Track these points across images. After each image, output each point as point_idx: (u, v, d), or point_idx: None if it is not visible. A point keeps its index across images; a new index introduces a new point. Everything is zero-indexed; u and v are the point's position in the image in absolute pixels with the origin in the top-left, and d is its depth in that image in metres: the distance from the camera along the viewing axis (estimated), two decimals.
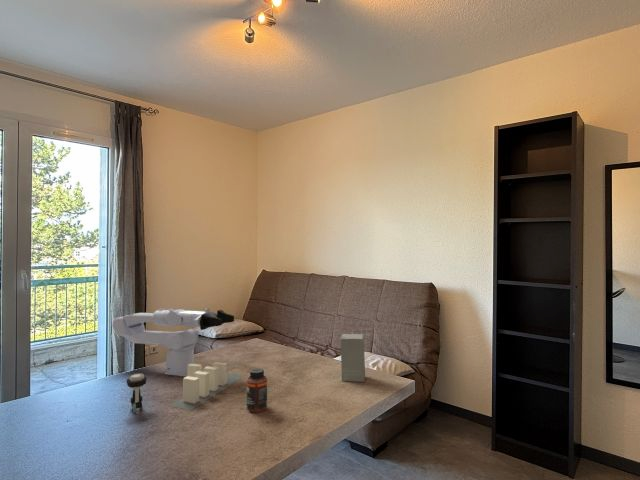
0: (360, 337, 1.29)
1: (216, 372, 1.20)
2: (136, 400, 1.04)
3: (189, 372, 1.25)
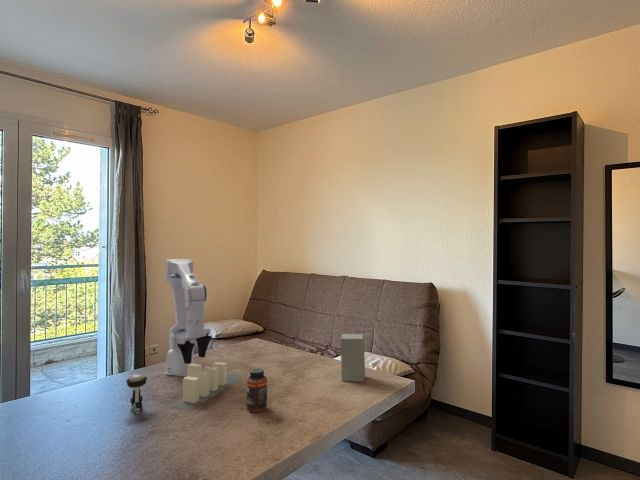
0: (360, 337, 1.29)
1: (216, 372, 1.20)
2: (136, 400, 1.04)
3: (189, 372, 1.25)
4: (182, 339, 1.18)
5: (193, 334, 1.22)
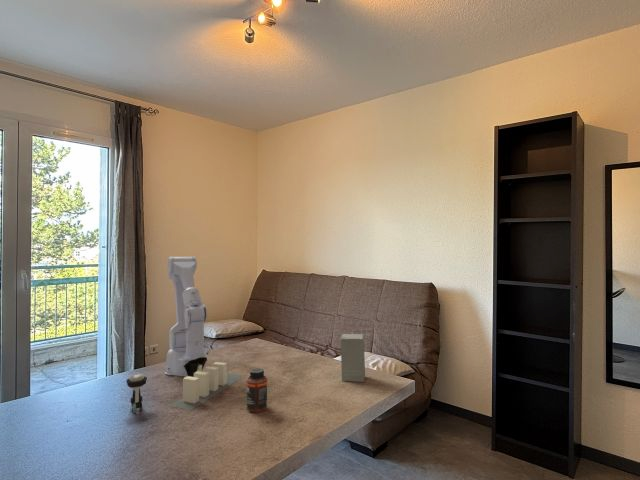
0: (360, 337, 1.29)
1: (216, 372, 1.20)
2: (136, 400, 1.04)
3: None
4: (182, 361, 1.18)
5: (193, 355, 1.22)
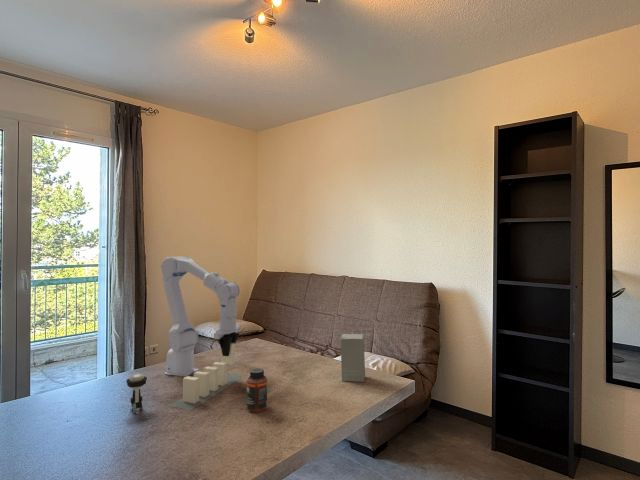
0: (360, 337, 1.29)
1: (216, 372, 1.20)
2: (136, 400, 1.04)
3: None
4: (217, 334, 1.23)
5: (227, 330, 1.28)
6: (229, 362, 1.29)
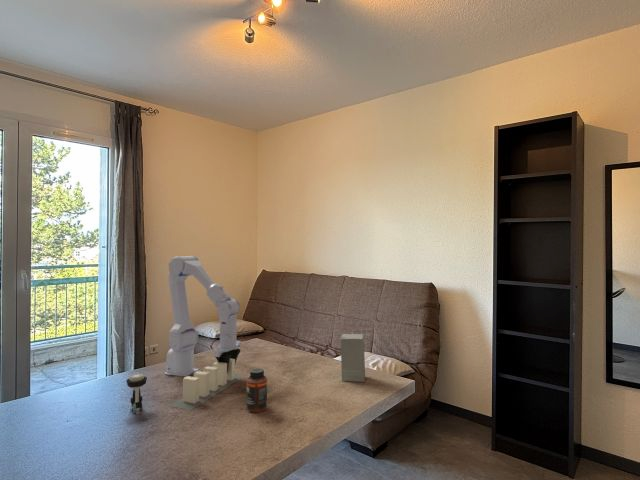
0: (360, 337, 1.29)
1: (216, 372, 1.20)
2: (136, 400, 1.04)
3: None
4: (217, 352, 1.23)
5: (227, 347, 1.27)
6: (229, 378, 1.29)
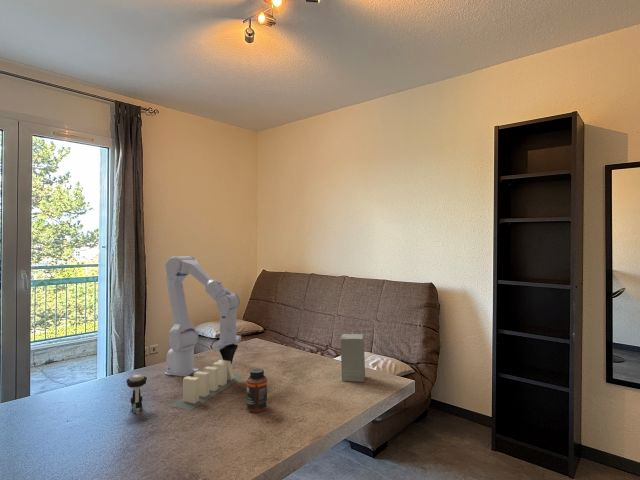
0: (360, 337, 1.29)
1: (216, 372, 1.20)
2: (136, 400, 1.04)
3: None
4: (217, 346, 1.23)
5: (227, 341, 1.27)
6: (228, 378, 1.28)
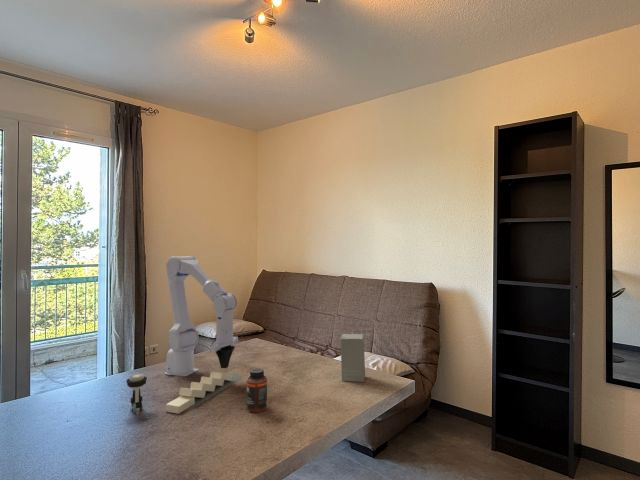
0: (360, 337, 1.29)
1: (204, 387, 1.14)
2: (136, 400, 1.04)
3: None
4: (213, 348, 1.21)
5: (223, 342, 1.25)
6: (228, 380, 1.28)
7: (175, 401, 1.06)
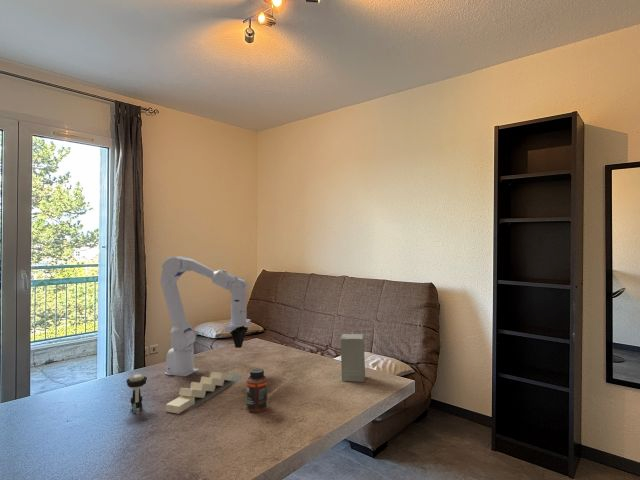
0: (360, 337, 1.29)
1: (204, 387, 1.14)
2: (136, 400, 1.04)
3: None
4: (229, 327, 1.30)
5: (238, 323, 1.34)
6: (228, 380, 1.28)
7: (175, 401, 1.06)
